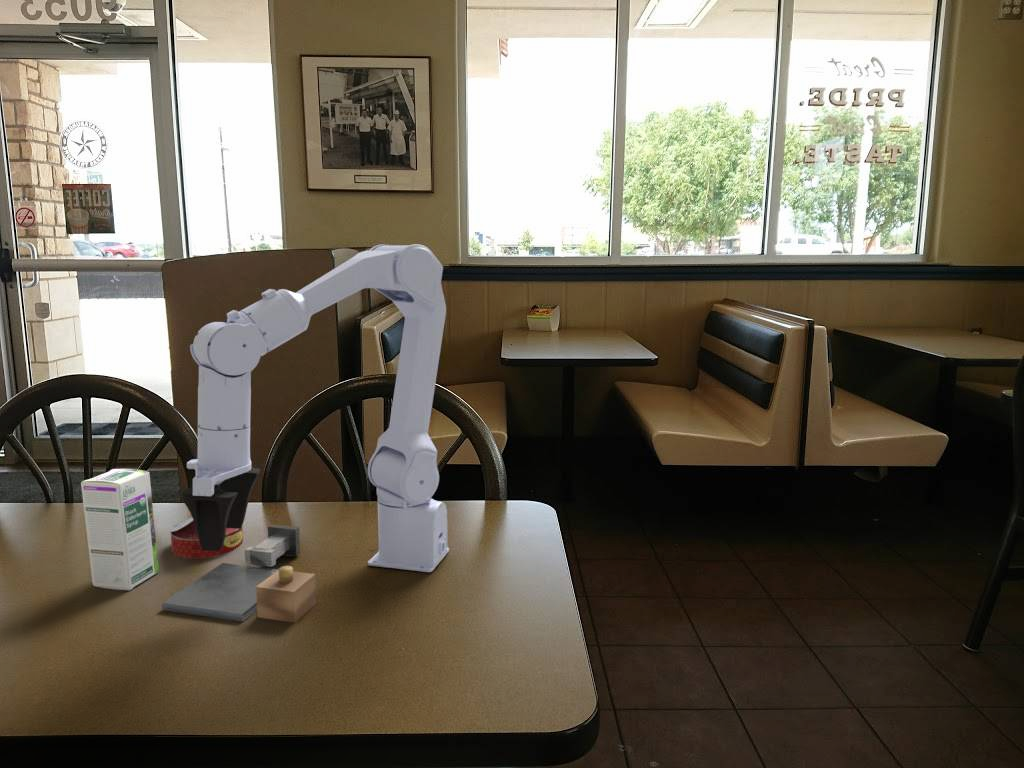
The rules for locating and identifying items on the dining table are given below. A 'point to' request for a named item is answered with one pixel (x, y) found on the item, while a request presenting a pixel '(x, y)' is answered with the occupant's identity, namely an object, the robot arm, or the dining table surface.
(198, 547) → the canned food
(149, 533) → the syrup box
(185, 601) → the grey square baseplate
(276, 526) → the square end dumbbell
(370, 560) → the robot arm
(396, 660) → the dining table surface
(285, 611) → the block
